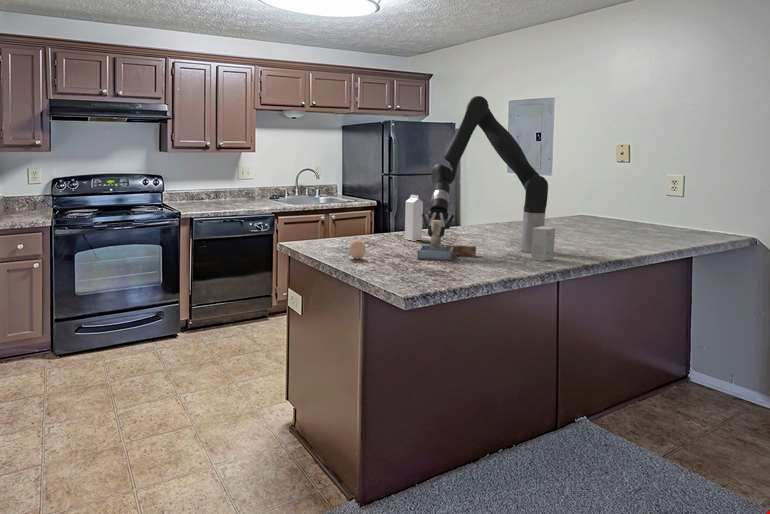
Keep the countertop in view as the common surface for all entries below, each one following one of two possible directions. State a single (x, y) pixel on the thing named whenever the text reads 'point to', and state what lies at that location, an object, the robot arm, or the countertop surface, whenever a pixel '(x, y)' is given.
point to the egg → (357, 249)
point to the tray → (434, 253)
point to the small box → (543, 243)
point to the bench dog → (462, 250)
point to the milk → (413, 218)
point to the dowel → (436, 234)
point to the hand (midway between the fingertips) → (435, 235)
